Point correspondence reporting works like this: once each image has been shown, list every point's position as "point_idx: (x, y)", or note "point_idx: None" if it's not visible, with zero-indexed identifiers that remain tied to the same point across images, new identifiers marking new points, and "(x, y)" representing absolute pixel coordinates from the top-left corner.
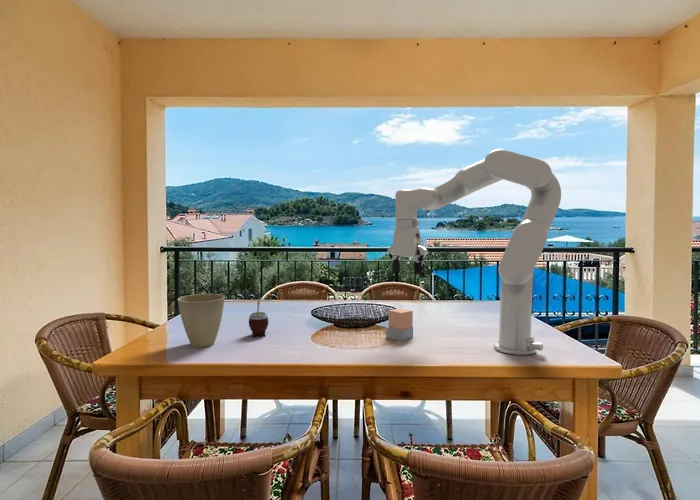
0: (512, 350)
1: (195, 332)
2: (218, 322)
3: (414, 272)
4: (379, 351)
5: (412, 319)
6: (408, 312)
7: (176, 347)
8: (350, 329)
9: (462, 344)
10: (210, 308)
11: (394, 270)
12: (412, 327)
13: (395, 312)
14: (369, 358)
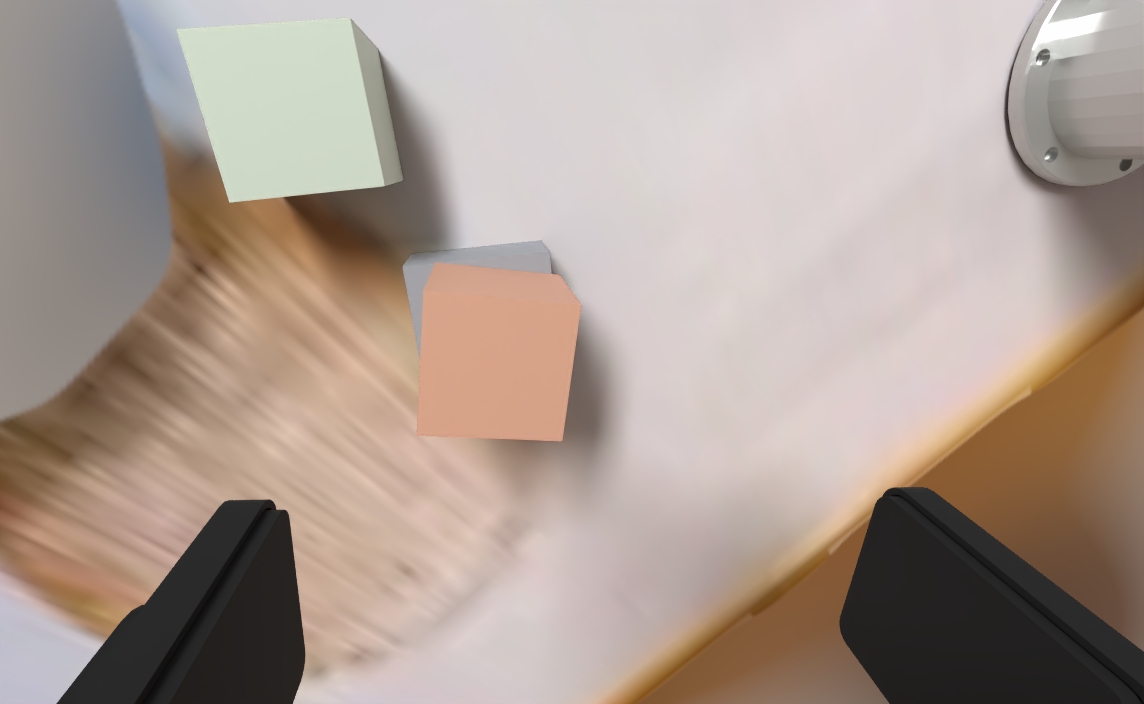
0: (1111, 170)
1: None
2: None
3: (854, 650)
4: (574, 561)
5: (569, 289)
6: (571, 355)
7: None
8: (95, 389)
9: (845, 179)
10: None
11: (285, 701)
12: (549, 259)
13: (497, 435)
14: (602, 640)
